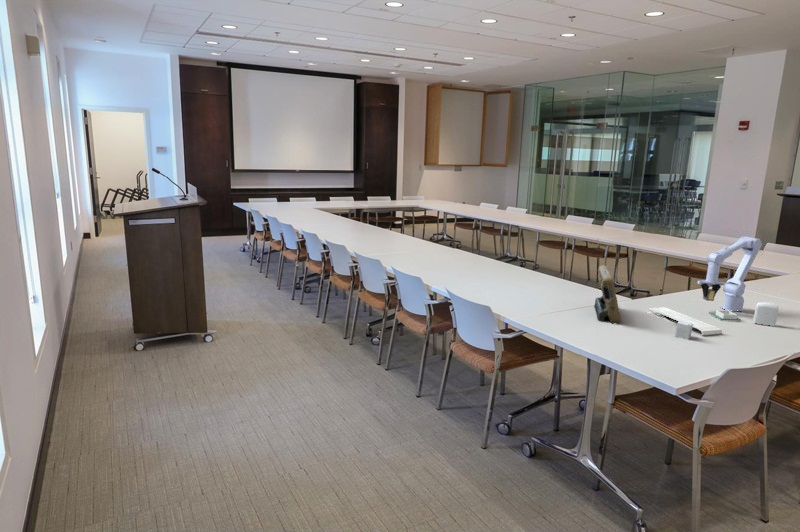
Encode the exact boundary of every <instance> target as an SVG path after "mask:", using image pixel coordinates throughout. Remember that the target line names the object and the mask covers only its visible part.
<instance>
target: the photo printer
mask: <svg viewBox="0 0 800 532" xmlns="http://www.w3.org/2000/svg"><path fill="white" fill-rule="evenodd" d="M778 312H779V305H777V304H776V303H773V302H769V301H768V302H765V301H763V302H761V301H760V302H757V303H756V305H755V309H754V313H753V319H752V323H753V322H754V323H757V324H756V325H761V324H763V325H762V326H768V325H770V327H775V326H776V323H777V318H778ZM754 323H753V324H754Z"/></svg>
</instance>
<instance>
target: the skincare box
mask: <svg viewBox="0 0 800 532" xmlns="http://www.w3.org/2000/svg"><path fill="white" fill-rule="evenodd" d="M676 323H677V324H676V328H675V329H676V330H675V335H674V337H676V338H679V339H683V340H687V341H688V340H689V339H690V338H691V337H692V331H693V328H694V327H693V323H690V322H686V321H681V320H680V321H678V322H676Z"/></svg>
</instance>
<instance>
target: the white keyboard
mask: <svg viewBox="0 0 800 532" xmlns="http://www.w3.org/2000/svg"><path fill="white" fill-rule="evenodd" d="M647 309H648V310H651V311H645V313H647V314H649V315H651V316H653V315H654V317H655V316H656V318H658V319H660V318H664V317H662V316H666V317H669V318H671V319H673V320H676V321H678V322H679V321H680V320H681V321H686V322H690V323H693V327H692V328H695V329H697V330H699V332H701V334H700V335H699V336H700V337H703V336H714V335H715V336H717V335H722V334H723V330H722V329H721V328H720V327H718V326H715V325H713V324H709V323H707V322H704V321H701V320H699V319H696V318H694V317H691V316H689V315H687V314H684V313H682V312H679V311H676V310H673V309H671V308H668V307H666V306H663V307H662V306H661V307H650V308H649V307H648V308H647ZM657 314H660V315H661V316H660V315H657ZM676 321H675V322H676ZM716 334H717V335H716Z"/></svg>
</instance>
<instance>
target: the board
mask: <svg viewBox="0 0 800 532" xmlns="http://www.w3.org/2000/svg"><path fill="white" fill-rule="evenodd" d="M710 314H711V315H710ZM708 315H710V316H712V315H713V316H712V317H714V316H715V317H716V318H715V317H714V318H715V319H717V318H718V319H717V320H719V319H720V320H719V321H723V320H741V321H742V319H741V318H739V317H738V314H736V312H734V311H726V310H724V309H721V310H720V309H716V311H708Z"/></svg>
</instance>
